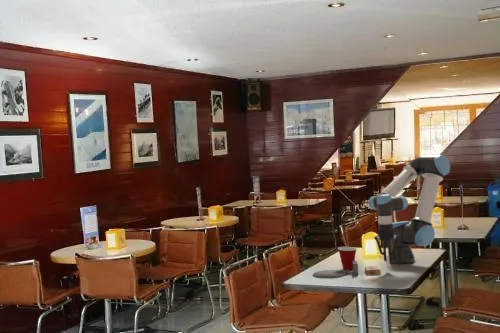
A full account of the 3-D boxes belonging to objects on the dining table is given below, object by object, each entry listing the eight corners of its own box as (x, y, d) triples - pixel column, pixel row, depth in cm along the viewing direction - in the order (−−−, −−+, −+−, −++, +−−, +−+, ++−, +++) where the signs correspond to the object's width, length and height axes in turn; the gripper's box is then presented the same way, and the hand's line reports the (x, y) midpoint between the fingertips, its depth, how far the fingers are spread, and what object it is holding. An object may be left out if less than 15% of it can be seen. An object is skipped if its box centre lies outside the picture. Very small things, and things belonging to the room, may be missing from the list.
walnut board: (377, 271, 306) (377, 265, 306) (380, 275, 296) (380, 269, 296) (365, 271, 306) (364, 266, 306) (367, 275, 296) (366, 270, 296)
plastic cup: (358, 270, 309) (356, 248, 309) (338, 271, 311) (337, 249, 311) (358, 266, 320) (357, 245, 320) (339, 267, 322) (338, 246, 322)
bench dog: (357, 271, 306) (356, 260, 306) (358, 274, 298) (357, 263, 298) (353, 271, 306) (352, 261, 306) (353, 275, 298) (353, 263, 298)
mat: (345, 270, 312) (345, 269, 312) (347, 277, 294) (347, 276, 294) (313, 271, 314) (313, 270, 314) (312, 278, 296) (312, 277, 296)
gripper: (396, 222, 303) (399, 265, 303) (372, 223, 304) (375, 266, 304) (398, 223, 295) (401, 268, 295) (373, 224, 297) (376, 269, 297)
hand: (388, 267), depth 300 cm, fingers closed
